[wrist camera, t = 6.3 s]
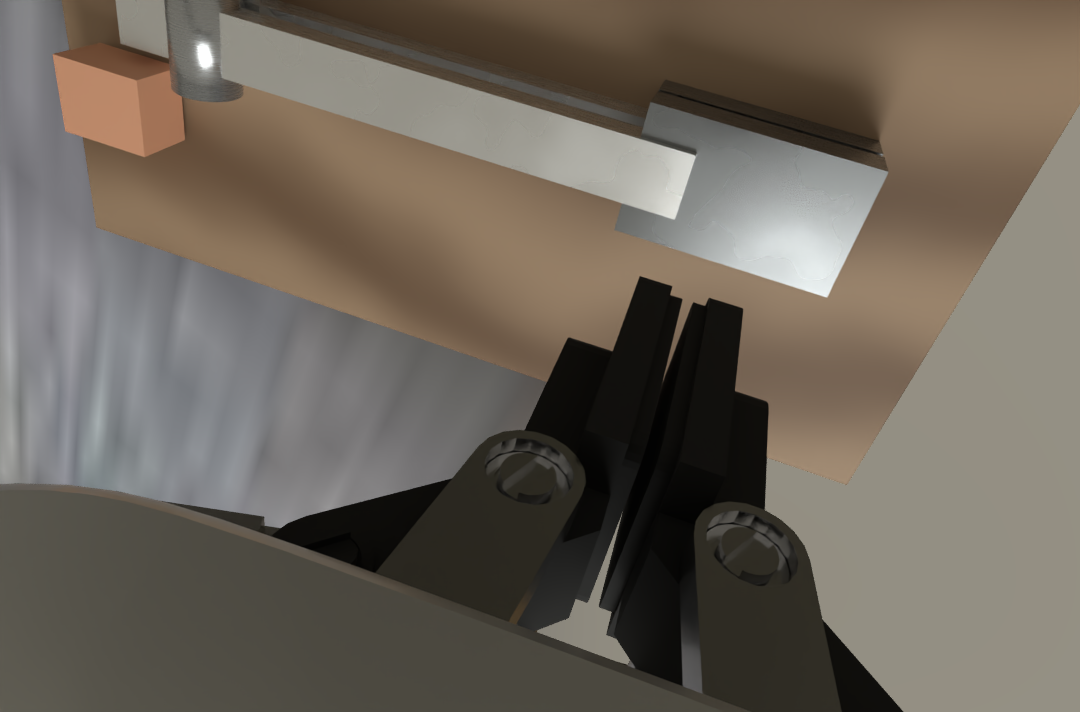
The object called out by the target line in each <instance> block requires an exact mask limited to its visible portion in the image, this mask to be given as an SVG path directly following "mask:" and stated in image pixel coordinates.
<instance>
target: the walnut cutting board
mask: <svg viewBox="0 0 1080 712" xmlns="http://www.w3.org/2000/svg"><path fill="white" fill-rule="evenodd" d="M278 1H281V2H285V3H288V4H292V5H295V6H298V7H302V8H305V9H309V10H312V11H315V12H319V13H322V14H326V15H329V16H333V17H336V18H339V19H343V20H346V21H350V22H353V23H357V24H360V25H363V26H367V27H370V28H374V29H377V30H380V31H384V32H387V33H391V34H394V35H398V36H401V37H404V38H408V39H411V40H415V41H418V42H422V43H425V44H428V45H432V46H435V47H439V48H442V49H445V50H449V51H452V52H456V53H459V54H463V55H466V56H469V57H473V58H476V59H480V60H483V61H487V62H490V63H493V64H497V65H500V66H504V67H507V68H510V69H514V70H517V71H521V72H524V73H528V74H531V75H534V76H538V77H541V78H545V79H548V80H552V81H555V82H558V83H562V84H565V85H569V86H572V87H575V88H579V89H582V90H586V91H589V92H593V93H596V94H599V95H603V96H606V97H610V98H613V99H617V100H620V101H623V102H627V103H630V104H634V105H637V106H640V107H644V108H647V109H649V105H650V102H651V100H652V99H653V98H654V96H655V95H656V93H657V92H658V91H659V89H660V87H661V85H662V84H663V82H664V81H665V79H666V80H669V81H673V82H676V83H680V84H683V85H687V86H690V87H694V88H697V89H701V90H704V91H708V92H711V93H715V94H718V95H722V96H725V97H729V98H732V99H736V100H739V101H743V102H746V103H749V104H753V105H756V106H760V107H763V108H767V109H770V110H774V111H777V112H781V113H784V114H788V115H791V116H795V117H798V118H802V119H805V120H809V121H812V122H816V123H819V124H823V125H826V126H830V127H833V128H837V129H840V130H844V131H847V132H851V133H854V134H858V135H861V136H865V137H868V138H872V139H875V140H879V141H880V144H881V147H882V150H883V157H885V160H886V164H887V167H888V171H889V172H888V175H887V177H886V179H885V181H884V183H883V185H882V187H881V189H880V191H879V193H878V195H877V197H876V199H875V201H874V203H873V205H872V207H871V209H870V211H869V213H868V215H867V217H866V219H865V221H864V223H863V225H862V227H861V229H860V231H859V234H858V236H857V238H856V240H855V242H854V244H853V246H852V248H851V250H850V252H849V254H848V256H847V258H846V260H845V262H844V264H843V266H842V268H841V270H840V272H839V274H838V276H837V278H836V280H835V282H834V284H833V286H832V288H831V291H830V293H829V295H828V297H824V296H820V295H817V294H814V293H811V292H808V291H805V290H802V289H798V288H795V287H792V286H789V285H786V284H783V283H779V282H776V281H773V280H770V279H767V278H764V277H761V276H757V275H754V274H751V273H748V272H745V271H742V270H739V269H735V268H732V267H729V266H726V265H723V264H720V263H717V262H713V261H710V260H707V259H704V258H701V257H698V256H694V255H691V254H688V253H685V252H682V251H679V250H676V249H672V248H669V247H666V246H663V245H660V244H657V243H654V242H650V241H647V240H644V239H641V238H638V237H635V236H632V235H628V234H625V233H622V232H619V231H616V230H614V229H615V225H616V222H617V218H618V215H619V211H620V208H621V204H622V203H620V202H616V201H613V200H610V199H607V198H604V197H600V196H597V195H594V194H591V193H588V192H584V191H581V190H578V189H575V188H572V187H568V186H565V185H562V184H559V183H556V182H552V181H549V180H546V179H543V178H540V177H536V176H533V175H530V174H527V173H524V172H520V171H517V170H514V169H511V168H508V167H504V166H501V165H498V164H495V163H492V162H488V161H485V160H482V159H479V158H476V157H472V156H469V155H466V154H463V153H460V152H456V151H453V150H450V149H447V148H444V147H441V146H437V145H434V144H431V143H428V142H425V141H421V140H418V139H415V138H412V137H409V136H405V135H402V134H399V133H396V132H393V131H389V130H386V129H383V128H380V127H377V126H373V125H370V124H367V123H364V122H361V121H357V120H354V119H351V118H348V117H345V116H341V115H338V114H335V113H332V112H329V111H325V110H322V109H319V108H316V107H313V106H309V105H306V104H303V103H300V102H297V101H293V100H290V99H287V98H284V97H281V96H277V95H274V94H271V93H268V92H265V91H261V90H258V89H255V88H252V87H249V86H245V85H243V96H242V97H241V98H239V99H237V100H233V101H228V102H203V101H197V100H192V99H188V98H185V97H182V106H183V120H184V133H185V140H184V141H181V142H179V143H177V144H174V145H172V146H170V147H167V148H165V149H163V150H160V151H158V152H156V153H153V154H151V155H149V156H146V157H143V156H139V155H136V154H133V153H130V152H127V151H124V150H121V149H118V148H115V147H112V146H109V145H106V144H103V143H100V142H97V141H94V140H91V139H88V138H85V137H83V142H84V148H85V155H86V161H87V168H88V174H89V181H90V187H91V194H92V200H93V207H94V213H95V220H96V227H97V228H100V229H103V230H106V231H109V232H112V233H114V234H117V235H120V236H123V237H126V238H129V239H132V240H135V241H138V242H141V243H144V244H146V245H149V246H152V247H155V248H158V249H161V250H164V251H167V252H170V253H173V254H176V255H179V256H181V257H184V258H187V259H190V260H193V261H196V262H199V263H202V264H205V265H208V266H211V267H213V268H216V269H219V270H222V271H225V272H228V273H231V274H234V275H237V276H240V277H243V278H245V279H248V280H251V281H254V282H257V283H260V284H263V285H266V286H269V287H272V288H275V289H277V290H280V291H283V292H286V293H289V294H292V295H295V296H298V297H301V298H304V299H307V300H310V301H312V302H315V303H318V304H321V305H324V306H327V307H330V308H333V309H336V310H339V311H342V312H344V313H347V314H350V315H353V316H356V317H359V318H362V319H365V320H368V321H371V322H374V323H376V324H379V325H382V326H385V327H388V328H391V329H394V330H397V331H400V332H403V333H406V334H409V335H411V336H414V337H417V338H420V339H423V340H426V341H429V342H432V343H435V344H438V345H441V346H443V347H446V348H449V349H452V350H455V351H458V352H461V353H464V354H467V355H470V356H473V357H475V358H478V359H481V360H484V361H487V362H490V363H493V364H496V365H499V366H502V367H505V368H508V369H510V370H513V371H516V372H519V373H522V374H525V375H528V376H531V377H534V378H537V379H540V380H542V381H545V382H547V381H548V379H549V377H550V375H551V372H552V370H553V368H554V366H555V364H556V362H557V360H558V357H559V355H560V353H561V351H562V349H563V347H564V344H565V342H566V340H567V339H568V338H569V337H570V338H573V339H576V340H580V341H583V342H586V343H589V344H592V345H595V346H598V347H601V348H604V349H607V350H610V351H613V349H614V346H615V343H616V340H617V338H618V335H619V332H620V329H621V327H622V324H623V321H624V318H625V315H626V313H627V310H628V307H629V304H630V302H631V299H632V296H633V293H634V290H635V288H636V285H637V282H638V279H639V277H640V276H642V277H645V278H648V279H651V280H654V281H658V282H661V283H664V284H667V285H670V286H672V290H671V294H670V295H672V296H675V297H678V298H682V299H683V300H682V305H681V309H680V313H679V317H678V321H677V325H676V329H675V333H674V337H673V341H672V346H671V350H670V354H669V358H668V362H667V366H666V370H665V374H664V378H665V375H666V372H667V369H668V367H669V364H670V361H671V359H672V356H673V353H674V351H675V348H676V345H677V343H678V340H679V337H680V335H681V332H682V329H683V327H684V324H685V321H686V319H687V316H688V313H689V311H690V308H691V306H692V303H693V302H694V303H697V304H701V305H704V306H705V305H706V303H707V300H708V299H709V298H712V299H715V300H718V301H722V302H725V303H728V304H731V305H734V306H738V307H741V308H743V319H742V329H741V338H740V347H739V357H738V366H737V376H736V385H735V391H737V392H740V393H743V394H746V395H749V396H752V397H755V398H758V399H761V400H764V401H767V403H768V406H769V416H768V440H767V458H770V459H772V460H775V461H778V462H781V463H784V464H787V465H790V466H793V467H796V468H799V469H802V470H805V471H807V472H810V473H813V474H816V475H819V476H822V477H825V478H828V479H831V480H834V481H837V482H839V483H842V484H845V485H847V484H848V482H849V481H850V479H851V478H852V476H853V474H854V473H855V471H856V469H857V468H858V466H859V464H860V463H861V461H862V460H863V458H864V456H865V455H866V453H867V451H868V450H869V448H870V446H871V445H872V443H873V441H874V440H875V438H876V437H877V435H878V433H879V432H880V430H881V429H882V427H883V425H884V424H885V422H886V420H887V419H888V417H889V415H890V414H891V412H892V410H893V409H894V407H895V406H896V404H897V402H898V401H899V399H900V397H901V396H902V394H903V393H904V391H905V389H906V388H907V386H908V384H909V383H910V381H911V379H912V378H913V376H914V375H915V373H916V371H917V369H918V368H919V366H920V365H921V363H922V362H923V360H924V358H925V357H926V355H927V353H928V352H929V350H930V348H931V347H932V345H933V343H934V342H935V340H936V339H937V337H938V335H939V334H940V332H941V330H942V329H943V327H944V326H945V324H946V322H947V320H948V319H949V317H950V315H951V314H952V312H953V311H954V309H955V308H956V306H957V304H958V302H959V301H960V299H961V298H962V296H963V295H964V293H965V291H966V290H967V288H968V286H969V285H970V283H971V281H972V280H973V278H974V277H975V275H976V273H977V272H978V270H979V268H980V267H981V265H982V263H983V262H984V260H985V259H986V257H987V255H988V254H989V252H990V250H991V249H992V247H993V245H994V244H995V242H996V240H997V239H998V237H999V236H1000V234H1001V232H1002V231H1003V229H1004V228H1005V226H1006V224H1007V223H1008V221H1009V219H1010V218H1011V216H1012V214H1013V213H1014V211H1015V210H1016V208H1017V206H1018V205H1019V203H1020V201H1021V200H1022V198H1023V196H1024V195H1025V193H1026V192H1027V190H1028V188H1029V187H1030V185H1031V183H1032V182H1033V180H1034V178H1035V177H1036V175H1037V174H1038V172H1039V170H1040V169H1041V167H1042V165H1043V164H1044V162H1045V161H1046V159H1047V157H1048V156H1049V154H1050V152H1051V150H1052V149H1053V147H1054V146H1055V144H1056V143H1057V141H1058V139H1059V138H1060V136H1061V134H1062V133H1063V131H1064V129H1065V128H1066V126H1067V125H1068V123H1069V121H1070V120H1071V118H1072V116H1073V115H1074V113H1075V111H1076V110H1077V108H1078V107H1079V105H1080V0H278ZM62 5H63V11H64V18H65V24H66V31H67V37H68V44H69V50H72V49H76V48H80V47H85V46H89V45H93V44H97V43H103V44H106V45H110V46H113V47H116V48H119V49H122V50H126V51H129V52H132V53H135V54H139V55H142V56H145V57H148V58H152V59H155V60H158V61H161V62H164V63H168V64H169V58H165V57H162V56H159V55H156V54H152V53H149V52H146V51H143V50H139V49H136V48H133V47H130V46H126V45H123V44H120V35H119V27H118V18H117V9H116V1H115V0H62ZM664 378H663V380H664ZM662 383H663V382H662Z"/></svg>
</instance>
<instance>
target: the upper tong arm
mask: <svg viewBox="0 0 1080 712" xmlns="http://www.w3.org/2000/svg"><path fill="white" fill-rule="evenodd" d="M164 6H165V18H166V31H167V43H168V56H169V68H170V80H171V89H172V91H173V92H175V93H176V94H178V95H180V96H182V97H185V98H188V99H192V100H197V101H203V102H228V101H233V100H237V99H239V98H241V97H242V96H243V85H245V86H249V87H252V88H255V89H258V90H261V91H265V92H268V93H271V94H274V95H277V96H281V97H284V98H287V99H290V100H293V101H297V102H300V103H303V104H306V105H309V106H313V107H316V108H319V109H322V110H325V111H329V112H332V113H335V114H338V115H341V116H345V117H348V118H351V119H354V120H357V121H361V122H364V123H367V124H370V125H373V126H377V127H380V128H383V129H386V130H389V131H393V132H396V133H399V134H402V135H405V136H409V137H412V138H415V139H418V140H421V141H425V142H428V143H431V144H434V145H437V146H441V147H444V148H447V149H450V150H453V151H456V152H460V153H463V154H466V155H469V156H472V157H476V158H479V159H482V160H485V161H488V162H492V163H495V164H498V165H501V166H504V167H508V168H511V169H514V170H517V171H520V172H524V173H527V174H530V175H533V176H536V177H540V178H543V179H546V180H549V181H552V182H556V183H559V184H562V185H565V186H568V187H572V188H575V189H578V190H581V191H584V192H588V193H591V194H594V195H597V196H600V197H604V198H607V199H610V200H613V201H616V202H620V203H622V204H621V208H620V211H619V215H618V218H617V222H616V225H615V229H614V230H616V231H619V232H622V233H625V234H628V235H632V236H635V237H638V238H641V239H644V240H647V241H650V242H654V243H657V244H660V245H663V246H666V247H669V248H672V249H676V250H679V251H682V252H685V253H688V254H691V255H694V256H698V257H701V258H704V259H707V260H710V261H713V262H717V263H720V264H723V265H726V266H729V267H732V268H735V269H739V270H742V271H745V272H748V273H751V274H754V275H757V276H761V277H764V278H767V279H770V280H773V281H776V282H779V283H783V284H786V285H789V286H792V287H795V288H798V289H802V290H805V291H808V292H811V293H814V294H817V295H820V296H824V297H828V295H829V293H830V291H831V288H832V286H833V284H834V282H835V280H836V278H837V276H838V274H839V272H840V270H841V268H842V266H843V264H844V262H845V260H846V258H847V256H848V254H849V252H850V250H851V248H852V246H853V244H854V242H855V240H856V238H857V236H858V234H859V231H860V229H861V227H862V225H863V223H864V221H865V219H866V217H867V215H868V213H869V211H870V209H871V207H872V205H873V203H874V201H875V199H876V197H877V195H878V193H879V191H880V189H881V187H882V185H883V183H884V181H885V179H886V177H887V175H888V172H889V171H888V167H887V164H886V160H885V157H883V156H879V155H876V154H873V153H869V152H866V151H862V150H859V149H855V148H852V147H848V146H845V145H842V144H838V143H835V142H831V141H828V140H824V139H821V138H818V137H814V136H811V135H807V134H804V133H800V132H797V131H793V130H790V129H787V128H783V127H780V126H776V125H773V124H769V123H766V122H763V121H759V120H756V119H752V118H749V117H745V116H742V115H739V114H735V113H732V112H728V111H725V110H721V109H718V108H714V107H711V106H708V105H704V104H701V103H697V102H694V101H690V100H687V99H684V98H680V97H677V96H673V95H670V94H666V93H663V92H660V91H658V92H657V93H656V95H655V96H654V98H653V99H652V100H651V102H650V105H649V109H648V112H647V116H646V119H645V123H644V126H643V127H640V126H637V125H634V124H630V123H627V122H624V121H620V120H617V119H613V118H610V117H607V116H603V115H600V114H597V113H593V112H590V111H587V110H583V109H580V108H577V107H573V106H570V105H567V104H563V103H560V102H556V101H553V100H550V99H546V98H543V97H540V96H536V95H533V94H530V93H526V92H523V91H520V90H516V89H513V88H510V87H506V86H503V85H499V84H496V83H493V82H489V81H486V80H483V79H479V78H476V77H473V76H469V75H466V74H463V73H459V72H456V71H453V70H449V69H446V68H442V67H439V66H436V65H432V64H429V63H426V62H422V61H419V60H416V59H412V58H409V57H406V56H402V55H399V54H395V53H392V52H389V51H385V50H382V49H379V48H375V47H372V46H369V45H365V44H362V43H359V42H355V41H352V40H349V39H345V38H342V37H338V36H335V35H332V34H328V33H325V32H322V31H318V30H315V29H312V28H308V27H305V26H302V25H298V24H295V23H292V22H288V21H285V20H281V19H278V18H275V17H271V16H268V15H265V14H261V13H258V12H255V11H251V10H248V9H245V8H241V0H164Z"/></svg>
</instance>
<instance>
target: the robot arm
mask: <svg viewBox="0 0 1080 712" xmlns="http://www.w3.org/2000/svg"><path fill="white" fill-rule="evenodd" d="M671 290H672V286H670V285H667V284H664V283H661V282H658V281H654V280H651V279H648V278H645V277H642V276H640V277H639V279H638V282H637V285H636V288H635V290H634V293H633V296H632V299H631V302H630V304H629V307H628V310H627V313H626V315H625V318H624V321H623V324H622V327H621V329H620V332H619V335H618V338H617V340H616V343H615V346H614V349H613V351H610V350H607V349H604V348H601V347H598V346H595V345H592V344H589V343H586V342H583V341H580V340H576V339H573V338H570V337H569V338H568V339H567V340H566V342H565V344H564V347H563V349H562V351H561V353H560V355H559V357H558V360H557V362H556V364H555V366H554V368H553V370H552V372H551V375H550V377H549V379H548V381H547V383H546V385H545V388H544V390H543V392H542V394H541V396H540V398H539V401H538V403H537V405H536V407H535V409H534V411H533V413H532V416H531V418H530V420H529V422H528V424H527V426H526V429H525V431H523V430H515V431H506V432H502V433H499V434H496V435H494V436H491V437H489V438H488V439H487V440H485V441H484V442H483V443H482V444H481V445H479V446H478V448H477V449H476V450H475V451H474V453H473V454H472V455H471V456H470V457H469V459H468V460H467V461H466V462H465V464H464V465H463V466H462V467H461V468H460V470H459V471H458V472H457V473H456V475H455V476H454V477H453V478H452V479H448V480H444V481H441V482H437V483H433V484H429V485H425V486H421V487H417V488H413V489H410V490H406V491H402V492H398V493H394V494H390V495H386V496H382V497H379V498H375V499H371V500H367V501H363V502H359V503H355V504H351V505H348V506H344V507H340V508H336V509H332V510H328V511H324V512H320V513H317V514H313V515H309V516H305V517H303V518H300V519H298V520H295V521H293V522H290V523H288V524H286V525H285V526H283V527H282V528H275V527H268V526H265V523H264V517H262V516H256V515H249V514H243V513H236V512H229V511H223V510H216V509H210V508H203V507H197V506H190V505H184V504H177V503H170V502H164V501H158V500H154V499H149V498H145V497H141V496H136V495H132V494H127V493H123V492H119V491H111V490H104V489H96V488H89V487H81V486H73V485H54V484H22V483H13V484H0V712H903V711H902V710H901V709H900V707H899V706H898V705H897V704H896V703H895V702H894V701H893V699H892V698H891V697H890V696H889V695H888V694H887V693H886V691H885V690H884V689H883V688H882V687H881V686H880V685H879V684H878V682H877V681H876V680H875V679H874V678H873V677H872V675H871V674H870V673H869V672H868V671H867V670H866V669H865V668H864V666H863V665H862V664H861V663H860V662H859V661H858V660H857V658H856V657H855V656H854V655H853V654H852V653H851V652H850V650H849V649H848V648H847V647H846V646H845V645H844V644H843V643H842V642H841V640H840V639H839V638H838V637H837V636H836V635H835V633H834V632H833V631H832V630H831V629H830V628H829V626H828V625H827V624H826V623H825V622H824V621H823V620H822V616H821V610H820V606H819V601H818V596H817V591H816V587H815V582H814V577H813V573H812V567H811V563H810V559H809V557H808V554H807V551H806V549H805V546H804V545H803V543H802V542H801V541H800V539H799V538H798V536H797V535H796V534H795V532H794V531H793V530H791V529H790V528H789V527H788V526H787V525H786V524H785V523H784V522H783V521H782V520H780V519H779V518H777V517H776V516H774V515H772V514H770V513H769V512H767V511H765V488H766V464H767V440H768V416H769V406H768V403H767V401H764V400H761V399H758V398H755V397H752V396H749V395H746V394H743V393H740V392H737V391H735V385H736V376H737V366H738V357H739V347H740V338H741V329H742V319H743V308H741V307H738V306H734V305H731V304H728V303H725V302H722V301H718V300H715V299H712V298H709V299H708V300H707V303H706V305H705V306H704V305H701V304H697V303H694V302H693V303H692V306H691V308H690V311H689V313H688V316H687V319H686V321H685V324H684V327H683V329H682V332H681V335H680V337H679V340H678V343H677V345H676V348H675V351H674V353H673V356H672V359H671V361H670V364H669V367H668V369H667V372H666V375H665V378H664V374H665V370H666V366H667V362H668V358H669V354H670V350H671V346H672V341H673V337H674V333H675V329H676V325H677V321H678V317H679V313H680V309H681V305H682V300H683V299H682V298H678V297H675V296H672V295H670V294H671ZM663 378H664V380H663ZM662 382H663V383H662ZM622 512H623V513H622ZM621 514H622V517H621ZM620 517H621V521H620V525H619V529H618V533H617V537H616V541H615V544H614V548H613V552H612V556H611V560H610V564H609V568H608V571H607V575H606V579H605V583H604V587H603V591H602V595H601V599H600V603H599V607H600V608H603V609H606V610H608V611H611V612H612V613H611V618H610V622H609V626H608V630H607V635H608V636H611V637H613V638H616V639H617V640H618V642H619V643H620V645H621V646H622V648H623V649H624V651H625V653H626V654H627V656H628V657H629V659H630V661H629V663H628V665H627V666H626V665H624V664H621V663H618V662H616V661H613V660H610V659H607V658H605V657H602V656H599V655H597V654H594V653H591V652H588V651H586V650H583V649H580V648H578V647H575V646H572V645H570V644H567V643H564V642H562V641H559V640H556V639H553V638H550V637H548V636H545V635H543V634H540V633H537V630H539V629H541V628H543V627H547V626H549V625H552V624H554V623H557V622H559V621H562V620H564V619H565V620H566V619H567V618H569V616H570V613H571V610H572V607H573V605H574V602H575V599H578V600H581V601H584V602H586V603H587V602H588V600H589V598H590V595H591V592H592V590H593V587H594V585H595V582H596V580H597V577H598V574H599V572H600V569H601V566H602V564H603V561H604V559H605V556H606V553H607V551H608V548H609V545H610V543H611V540H612V538H613V535H614V533H615V530H616V527H617V524H618V522H619V520H620Z"/></svg>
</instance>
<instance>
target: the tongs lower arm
mask: <svg viewBox="0 0 1080 712" xmlns="http://www.w3.org/2000/svg"><path fill="white" fill-rule="evenodd" d="M115 1H116V9H117V18H118V27H119V35H120V44H123V45H126V46H130V47H133V48H136V49H139V50H143V51H146V52H149V53H152V54H156V55H159V56H162V57H165V58H169V56H168V43H167V31H166V18H165V6H164V0H115ZM241 8H245V9H248V10H251V11H255V12H258V13H261V14H265V15H268V16H271V17H275V18H278V19H281V20H285V21H288V22H292V23H295V24H298V25H302V26H305V27H308V28H312V29H315V30H318V31H322V32H325V33H328V34H332V35H335V36H338V37H342V38H345V39H349V40H352V41H355V42H359V43H362V44H365V45H369V46H372V47H375V48H379V49H382V50H385V51H389V52H392V53H395V54H399V55H402V56H406V57H409V58H412V59H416V60H419V61H422V62H426V63H429V64H432V65H436V66H439V67H442V68H446V69H449V70H453V71H456V72H459V73H463V74H466V75H469V76H473V77H476V78H479V79H483V80H486V81H489V82H493V83H496V84H499V85H503V86H506V87H510V88H513V89H516V90H520V91H523V92H526V93H530V94H533V95H536V96H540V97H543V98H546V99H550V100H553V101H556V102H560V103H563V104H567V105H570V106H573V107H577V108H580V109H583V110H587V111H590V112H593V113H597V114H600V115H603V116H607V117H610V118H613V119H617V120H620V121H624V122H627V123H630V124H634V125H637V126H640V127H643V126H644V123H645V119H646V116H647V112H648V109H647V108H644V107H640V106H637V105H634V104H630V103H627V102H623V101H620V100H617V99H613V98H610V97H606V96H603V95H599V94H596V93H593V92H589V91H586V90H582V89H579V88H575V87H572V86H569V85H565V84H562V83H558V82H555V81H552V80H548V79H545V78H541V77H538V76H534V75H531V74H528V73H524V72H521V71H517V70H514V69H510V68H507V67H504V66H500V65H497V64H493V63H490V62H487V61H483V60H480V59H476V58H473V57H469V56H466V55H463V54H459V53H456V52H452V51H449V50H445V49H442V48H439V47H435V46H432V45H428V44H425V43H422V42H418V41H415V40H411V39H408V38H404V37H401V36H398V35H394V34H391V33H387V32H384V31H380V30H377V29H374V28H370V27H367V26H363V25H360V24H357V23H353V22H350V21H346V20H343V19H339V18H336V17H333V16H329V15H326V14H322V13H319V12H315V11H312V10H309V9H305V8H302V7H298V6H295V5H292V4H288V3H285V2H281V1H278V0H241ZM659 91H660V92H663V93H666V94H670V95H673V96H677V97H680V98H684V99H687V100H690V101H694V102H697V103H701V104H704V105H708V106H711V107H714V108H718V109H721V110H725V111H728V112H732V113H735V114H739V115H742V116H745V117H749V118H752V119H756V120H759V121H763V122H766V123H769V124H773V125H776V126H780V127H783V128H787V129H790V130H793V131H797V132H800V133H804V134H807V135H811V136H814V137H818V138H821V139H824V140H828V141H831V142H835V143H838V144H842V145H845V146H848V147H852V148H855V149H859V150H862V151H866V152H869V153H873V154H876V155H879V156H883V150H882V147H881V144H880V141H879V140H875V139H872V138H868V137H865V136H861V135H858V134H854V133H851V132H847V131H844V130H840V129H837V128H833V127H830V126H826V125H823V124H819V123H816V122H812V121H809V120H805V119H802V118H798V117H795V116H791V115H788V114H784V113H781V112H777V111H774V110H770V109H767V108H763V107H760V106H756V105H753V104H749V103H746V102H743V101H739V100H736V99H732V98H729V97H725V96H722V95H718V94H715V93H711V92H708V91H704V90H701V89H697V88H694V87H690V86H687V85H683V84H680V83H676V82H673V81H669V80H666V79H665V81H664V82H663V84H662V85H661V87H660V89H659Z"/></svg>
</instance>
